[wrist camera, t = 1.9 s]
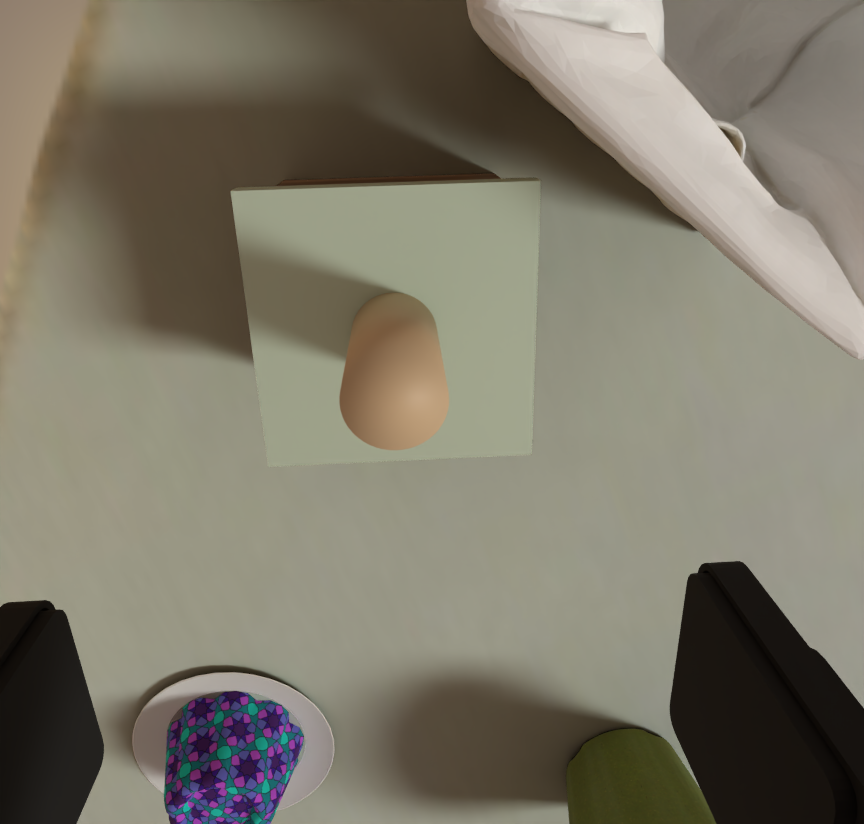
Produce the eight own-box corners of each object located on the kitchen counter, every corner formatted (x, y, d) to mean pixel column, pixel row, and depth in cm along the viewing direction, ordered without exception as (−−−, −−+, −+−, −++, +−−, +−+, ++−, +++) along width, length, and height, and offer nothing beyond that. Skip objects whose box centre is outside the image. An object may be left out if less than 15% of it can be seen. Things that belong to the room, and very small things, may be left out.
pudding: (271, 829, 47) (257, 912, 42) (101, 759, 44) (65, 840, 39) (373, 716, 43) (371, 793, 39) (196, 630, 40) (170, 703, 35)
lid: (243, 183, 25) (178, 221, 17) (529, 174, 25) (586, 206, 18) (276, 441, 29) (235, 562, 21) (522, 430, 29) (566, 545, 22)
